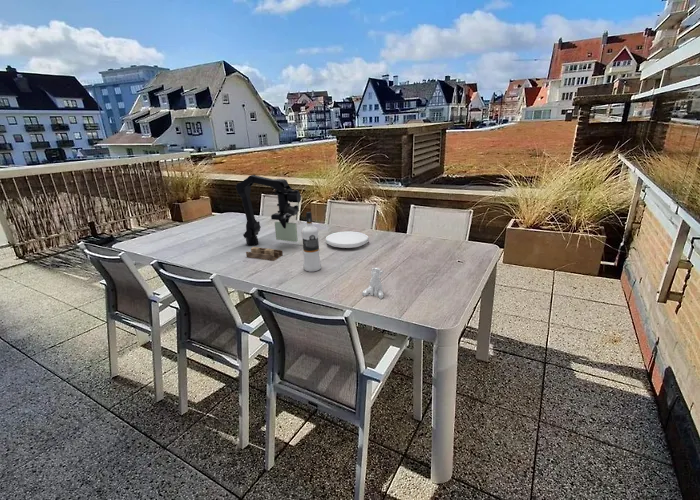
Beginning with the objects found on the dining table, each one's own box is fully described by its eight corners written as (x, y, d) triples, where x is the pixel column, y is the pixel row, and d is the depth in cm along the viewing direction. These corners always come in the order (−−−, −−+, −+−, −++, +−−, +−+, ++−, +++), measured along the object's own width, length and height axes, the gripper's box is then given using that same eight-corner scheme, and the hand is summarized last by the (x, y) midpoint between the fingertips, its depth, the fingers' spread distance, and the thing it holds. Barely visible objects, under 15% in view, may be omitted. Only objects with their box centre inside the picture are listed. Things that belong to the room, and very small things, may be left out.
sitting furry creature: (361, 296, 150) (360, 270, 146) (367, 287, 158) (367, 263, 154) (382, 299, 147) (382, 273, 143) (387, 290, 155) (388, 265, 150)
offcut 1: (251, 256, 196) (250, 248, 194) (255, 255, 198) (254, 246, 197) (257, 257, 194) (256, 249, 193) (260, 255, 197) (259, 247, 195)
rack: (246, 258, 196) (246, 252, 195) (256, 253, 204) (255, 247, 202) (274, 262, 190) (273, 255, 188) (282, 256, 197) (282, 250, 196)
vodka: (320, 264, 185) (316, 209, 175) (322, 271, 177) (319, 213, 167) (302, 266, 183) (298, 210, 173) (304, 273, 175) (300, 215, 165)
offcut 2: (265, 258, 193) (264, 250, 191) (268, 256, 195) (267, 248, 194) (271, 259, 191) (270, 250, 190) (274, 257, 194) (273, 249, 192)
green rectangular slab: (276, 239, 211) (274, 222, 207) (277, 238, 212) (276, 221, 208) (296, 241, 206) (294, 223, 202) (297, 241, 207) (296, 223, 203)
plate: (331, 229, 231) (371, 230, 226) (332, 238, 233) (371, 240, 227) (320, 237, 204) (364, 239, 199) (320, 248, 206) (364, 250, 201)
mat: (270, 249, 209) (270, 249, 209) (280, 243, 220) (280, 242, 220) (296, 252, 203) (296, 252, 203) (306, 246, 213) (306, 245, 213)
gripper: (286, 206, 190) (288, 233, 195) (303, 199, 206) (305, 224, 211) (269, 204, 194) (272, 231, 199) (287, 198, 210) (289, 223, 216)
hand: (285, 227), depth 206 cm, fingers closed on green rectangular slab, 2 cm apart
